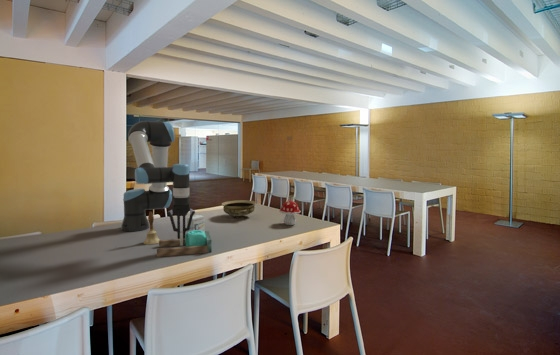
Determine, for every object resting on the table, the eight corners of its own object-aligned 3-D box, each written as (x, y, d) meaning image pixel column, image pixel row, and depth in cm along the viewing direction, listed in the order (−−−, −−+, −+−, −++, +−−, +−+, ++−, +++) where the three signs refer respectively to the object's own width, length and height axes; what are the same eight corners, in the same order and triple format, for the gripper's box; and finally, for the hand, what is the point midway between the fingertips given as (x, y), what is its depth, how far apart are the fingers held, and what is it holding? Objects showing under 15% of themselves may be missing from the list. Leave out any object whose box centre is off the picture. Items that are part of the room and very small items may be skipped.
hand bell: (143, 245, 159) (142, 214, 158) (143, 240, 167) (142, 210, 165) (161, 243, 163) (160, 212, 161) (160, 239, 170) (159, 209, 169)
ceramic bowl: (218, 213, 234) (218, 200, 233) (250, 211, 242) (250, 198, 241) (225, 223, 206) (225, 208, 205) (261, 220, 214) (261, 206, 213)
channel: (157, 256, 143) (156, 243, 143) (159, 246, 158) (159, 234, 158) (211, 252, 150) (211, 239, 150) (208, 242, 165) (208, 230, 165)
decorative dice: (206, 249, 154) (206, 233, 154) (190, 251, 150) (189, 235, 149) (201, 244, 161) (201, 229, 160) (185, 247, 157) (185, 231, 156)
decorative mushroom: (294, 220, 215) (294, 198, 213) (304, 225, 202) (304, 201, 201) (275, 222, 209) (275, 199, 207) (284, 227, 196) (285, 203, 195)
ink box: (198, 235, 178) (198, 214, 177) (205, 236, 175) (204, 215, 174) (186, 239, 171) (186, 217, 170) (193, 240, 168) (193, 218, 167)
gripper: (166, 198, 146) (166, 248, 148) (195, 197, 149) (195, 246, 152) (167, 195, 153) (167, 243, 155) (194, 195, 157) (195, 242, 159)
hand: (181, 245), depth 153 cm, fingers closed
